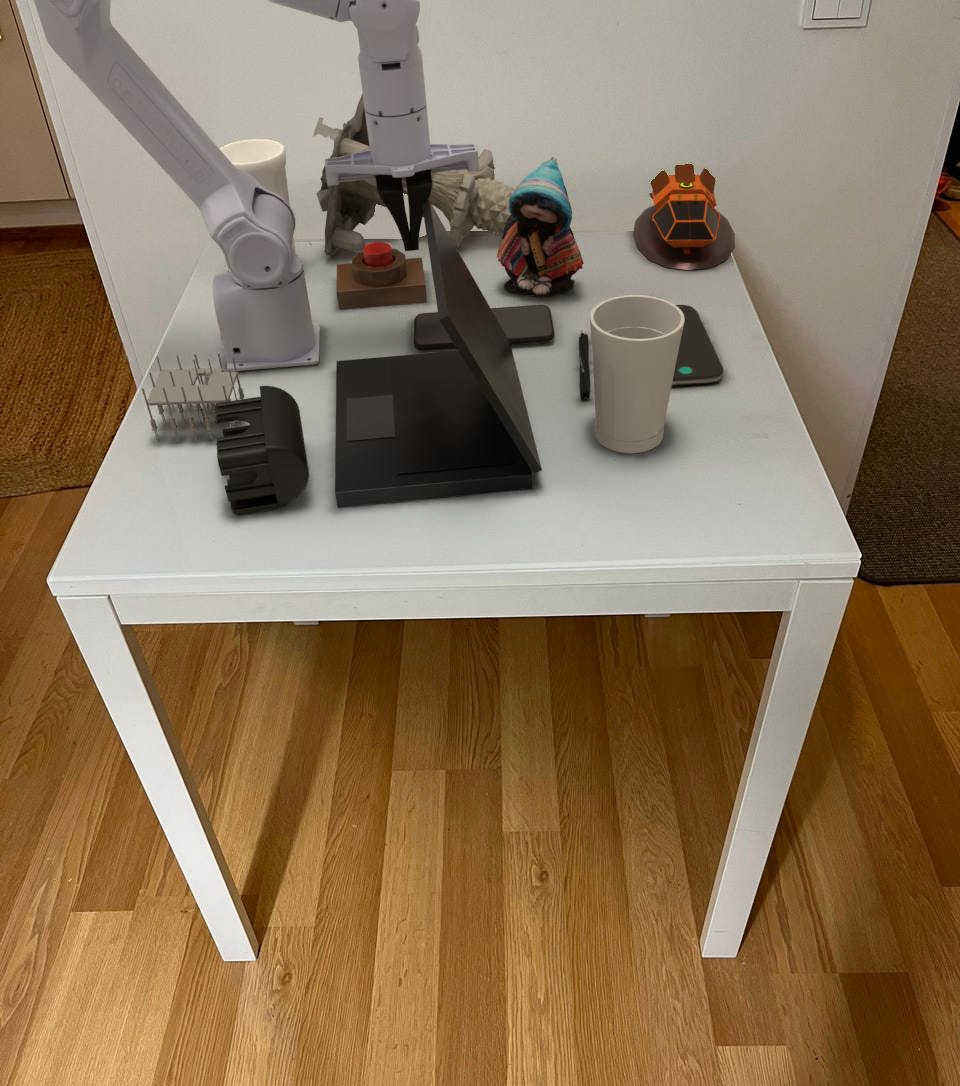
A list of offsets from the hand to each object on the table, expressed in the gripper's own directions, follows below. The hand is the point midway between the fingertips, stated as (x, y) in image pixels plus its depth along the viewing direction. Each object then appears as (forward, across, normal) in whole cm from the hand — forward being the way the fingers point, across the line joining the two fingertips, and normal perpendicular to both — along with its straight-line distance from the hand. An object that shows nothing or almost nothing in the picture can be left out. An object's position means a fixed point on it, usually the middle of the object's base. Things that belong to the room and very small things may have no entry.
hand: (411, 246), depth 101 cm
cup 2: (+11, +18, -21) cm, 30 cm away
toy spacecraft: (+11, +34, +20) cm, 41 cm away
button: (+7, -4, +12) cm, 14 cm away
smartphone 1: (+11, +7, 0) cm, 13 cm away
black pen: (+11, +16, -9) cm, 21 cm away
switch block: (+10, -4, +12) cm, 16 cm away
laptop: (+10, 0, -17) cm, 20 cm away
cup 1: (+10, -17, +19) cm, 27 cm away
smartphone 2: (+11, +26, -7) cm, 29 cm away
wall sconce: (+13, 0, +19) cm, 23 cm away
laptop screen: (+1, +5, -17) cm, 18 cm away
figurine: (+11, +14, +8) cm, 20 cm away
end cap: (+10, -15, -23) cm, 29 cm away
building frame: (+10, -22, -13) cm, 27 cm away
